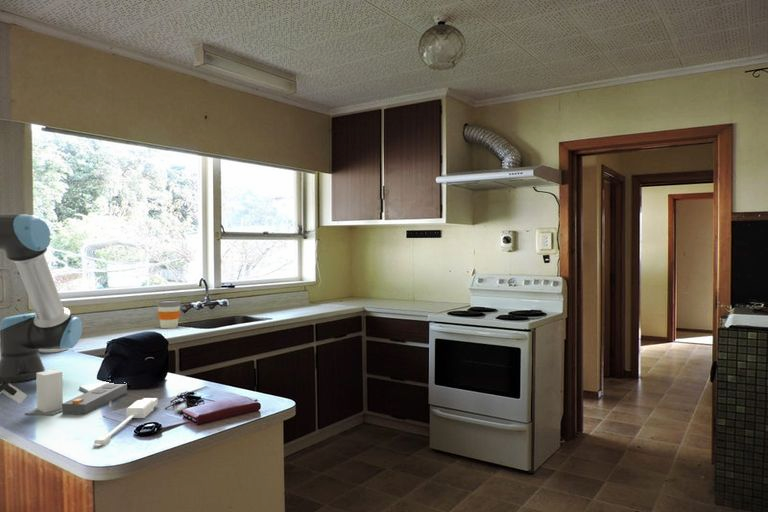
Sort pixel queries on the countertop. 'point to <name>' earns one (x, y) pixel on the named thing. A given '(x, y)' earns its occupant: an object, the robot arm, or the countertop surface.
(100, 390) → the strip
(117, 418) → the countertop surface
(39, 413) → the mat
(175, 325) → the reusable coffee cup
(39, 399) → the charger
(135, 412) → the charging cable
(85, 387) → the external hard drive
